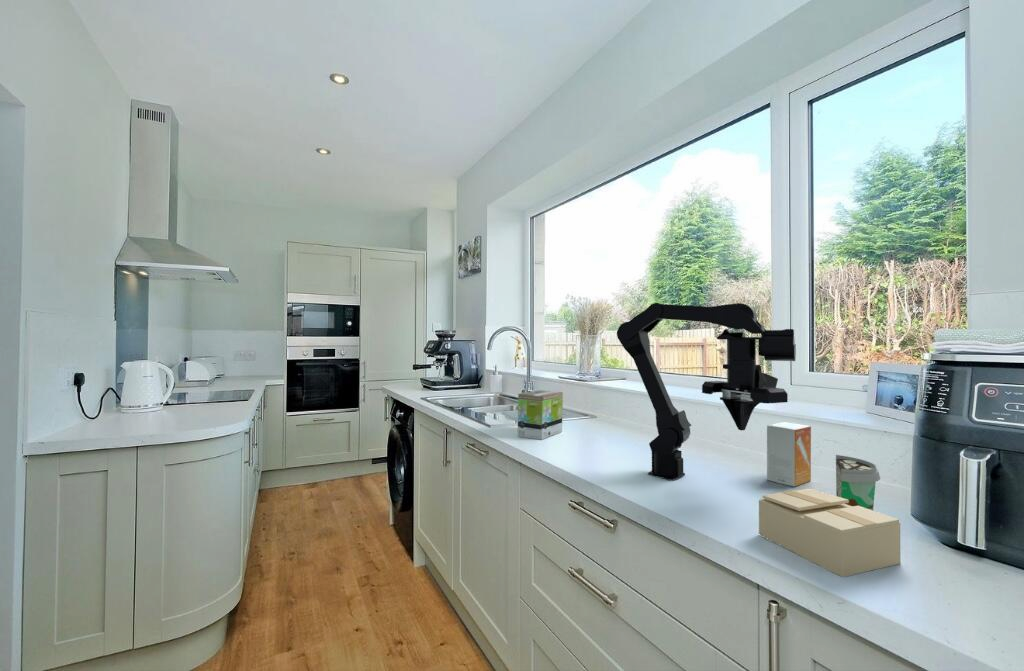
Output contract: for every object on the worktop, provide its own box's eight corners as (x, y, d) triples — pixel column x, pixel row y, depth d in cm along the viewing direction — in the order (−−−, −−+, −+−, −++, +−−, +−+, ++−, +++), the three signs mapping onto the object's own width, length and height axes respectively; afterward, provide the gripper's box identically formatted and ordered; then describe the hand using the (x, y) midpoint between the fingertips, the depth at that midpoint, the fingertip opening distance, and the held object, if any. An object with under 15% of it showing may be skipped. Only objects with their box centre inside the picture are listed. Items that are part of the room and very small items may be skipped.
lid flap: (762, 498, 76) (762, 494, 76) (809, 491, 79) (809, 487, 79) (799, 510, 69) (799, 507, 69) (848, 502, 73) (848, 499, 73)
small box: (795, 487, 99) (795, 429, 100) (766, 480, 105) (765, 424, 105) (812, 481, 104) (811, 425, 104) (783, 474, 109) (783, 421, 109)
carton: (758, 534, 76) (758, 496, 76) (811, 525, 79) (811, 488, 79) (842, 577, 62) (842, 530, 62) (900, 563, 66) (900, 519, 66)
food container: (886, 533, 76) (886, 475, 76) (841, 525, 79) (841, 469, 80) (874, 509, 87) (874, 458, 87) (835, 503, 90) (835, 454, 90)
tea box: (542, 440, 145) (542, 395, 146) (516, 437, 151) (516, 393, 151) (563, 432, 158) (563, 390, 158) (538, 429, 164) (538, 389, 164)
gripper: (807, 361, 93) (808, 436, 93) (737, 357, 110) (737, 420, 110) (766, 362, 89) (766, 440, 89) (700, 358, 107) (700, 423, 107)
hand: (741, 430), depth 99 cm, fingers closed
